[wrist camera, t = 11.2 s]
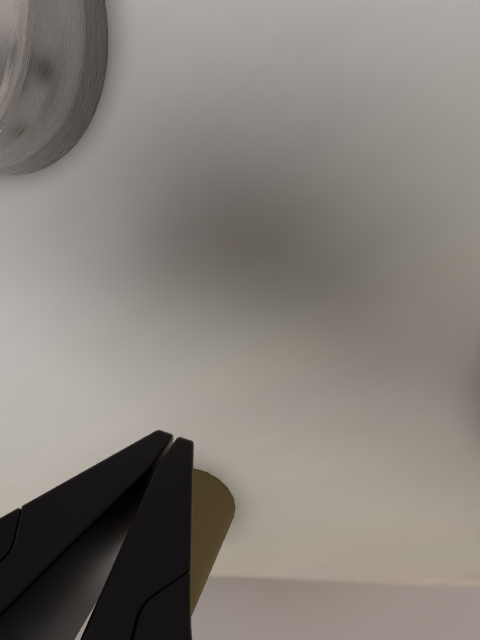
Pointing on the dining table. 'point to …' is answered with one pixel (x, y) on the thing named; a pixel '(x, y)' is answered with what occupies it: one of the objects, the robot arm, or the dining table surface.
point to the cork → (207, 527)
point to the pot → (56, 85)
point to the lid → (14, 51)
